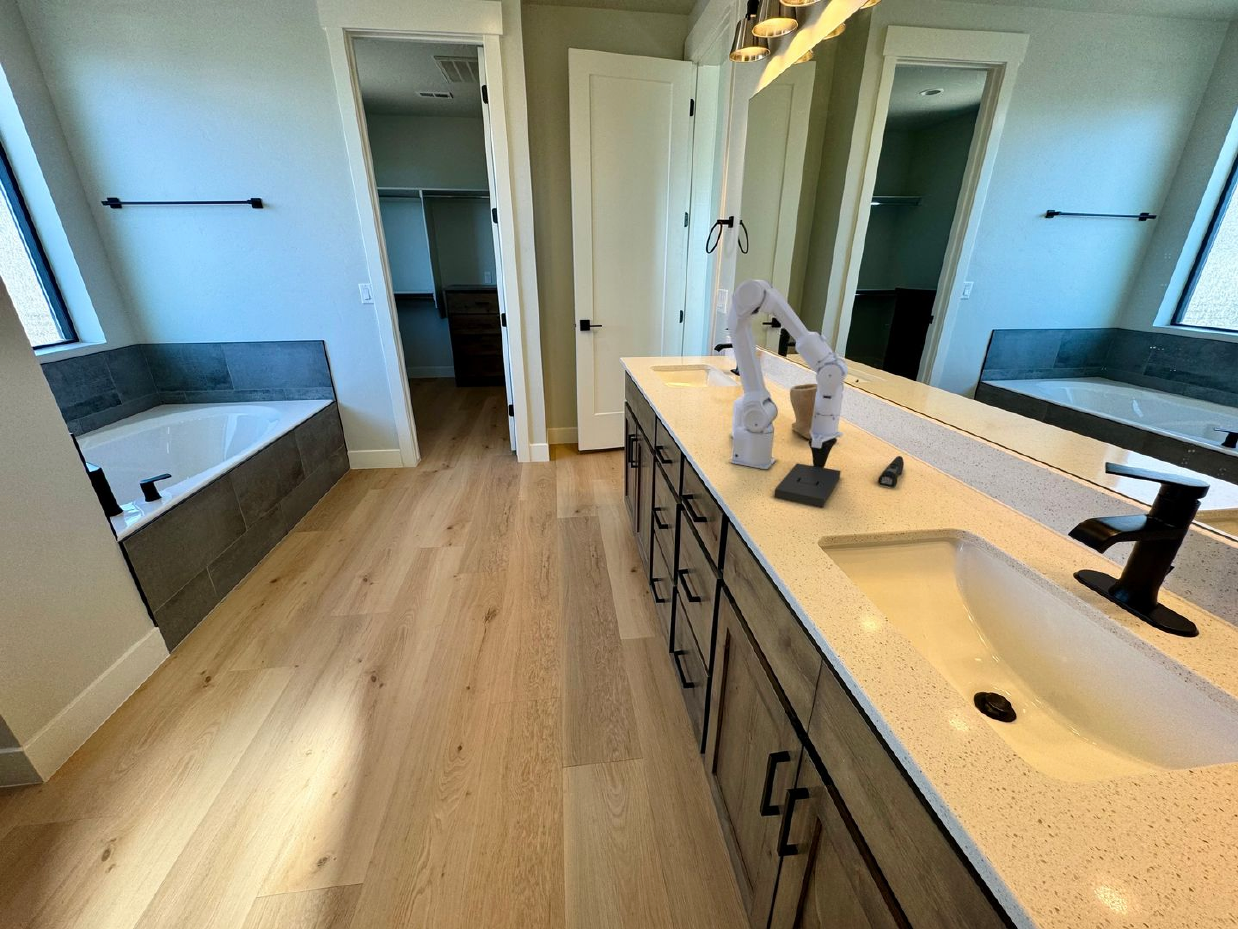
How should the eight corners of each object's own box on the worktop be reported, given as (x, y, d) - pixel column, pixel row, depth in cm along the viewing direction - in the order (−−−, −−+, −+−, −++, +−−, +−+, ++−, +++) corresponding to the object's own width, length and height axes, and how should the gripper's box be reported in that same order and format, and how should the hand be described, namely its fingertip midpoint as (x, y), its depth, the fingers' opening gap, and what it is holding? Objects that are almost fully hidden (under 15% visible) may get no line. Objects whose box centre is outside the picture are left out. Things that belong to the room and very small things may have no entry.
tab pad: (783, 486, 111) (783, 478, 110) (795, 470, 120) (796, 463, 119) (829, 496, 106) (831, 487, 105) (839, 478, 115) (840, 470, 114)
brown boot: (780, 427, 153) (786, 379, 148) (819, 427, 153) (825, 379, 147) (796, 443, 139) (802, 391, 133) (838, 443, 139) (846, 390, 133)
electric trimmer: (906, 468, 120) (909, 456, 119) (894, 489, 109) (897, 475, 108) (889, 465, 123) (892, 453, 122) (876, 485, 111) (878, 472, 110)
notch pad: (774, 497, 106) (775, 489, 105) (785, 483, 113) (786, 475, 112) (822, 508, 101) (824, 499, 100) (831, 492, 108) (832, 484, 107)
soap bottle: (766, 441, 141) (775, 354, 132) (734, 442, 141) (741, 355, 132) (758, 432, 149) (766, 350, 140) (728, 432, 149) (734, 350, 140)
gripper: (839, 423, 105) (830, 481, 110) (850, 408, 116) (842, 461, 121) (805, 418, 109) (797, 475, 114) (819, 404, 120) (812, 456, 125)
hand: (818, 467), depth 118 cm, fingers closed
